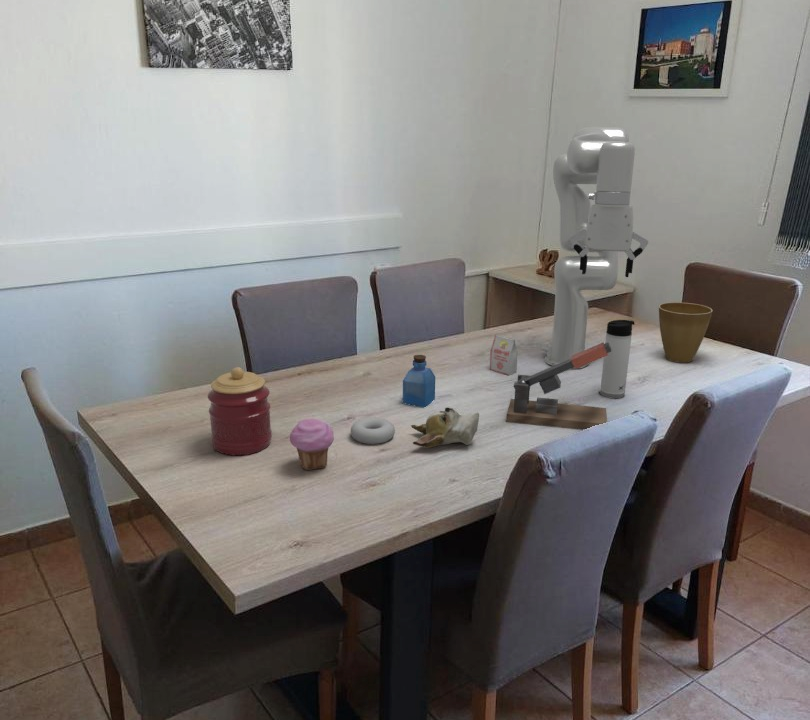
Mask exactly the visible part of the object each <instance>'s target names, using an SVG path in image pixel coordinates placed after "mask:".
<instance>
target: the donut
mask: <svg viewBox="0 0 810 720" xmlns="http://www.w3.org/2000/svg"><path fill="white" fill-rule="evenodd" d="M395 431H396V429H395V425H394V424H393V423H392V422H391V421H390V420H388V419H385V418H383V417H376V416H372V417H364V418H360V419H358V420H356V421H355V422H354V423H353V424H352V425H351V427H350V435H351V437H352V438H353V439H354V440H355V441H356V442H359V443H362V444H366V445H377V444H384V443H385V442H388V441H390V440H391V439H393V437H394V435H395V433H396V432H395Z"/></svg>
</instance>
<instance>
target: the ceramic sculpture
mask: <svg viewBox="0 0 810 720" xmlns="http://www.w3.org/2000/svg"><path fill="white" fill-rule="evenodd" d="M479 417H480V412H474V413H472V412H471V413H468V414H460V413H459V412H458V411H457V410H456V409H454V408H451V407H445V408H444V410H443V411H442V410H440V411H434V412H433V413H432V414H430V415H429V416H428V417H427V419H426V422H425V423H422V424H421V425H416V424H412V425H410V427H411V429H414V430H415V431H417V432H419V433H421V434H424V435H421V436H420V438H418V439H417V440H416V441H415V440H414V441H413V442H412V444H413V445H415V446H419V447H422V448H428V449H429V448H434V447H437V446H442V445H443V446H445V445H450V444H453V443H463V445H465V446H469V445H471V444H472V441H473V439H474V436H475V434H476V433H477V431H478V427H479V422H480V421H479V420H480V418H479Z"/></svg>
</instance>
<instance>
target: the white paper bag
mask: <svg viewBox="0 0 810 720" xmlns="http://www.w3.org/2000/svg"><path fill="white" fill-rule="evenodd" d="M518 352H519V351H518V350H517V346H516V340H515V339H512V338H508V337H504V336H500V335H496V334H495V335H494V338H493V342H492V344H491V347H490V354H489V355H490V357H489V371H492V372H496V373H499V374H502V375H504V376H511V375H514V374H516V373H517V370H518V369H517V367H518V356H519V355H518V354H519V353H518Z"/></svg>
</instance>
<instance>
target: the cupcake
mask: <svg viewBox="0 0 810 720" xmlns="http://www.w3.org/2000/svg"><path fill="white" fill-rule="evenodd" d="M334 434H335V433H334V430H333V428H332V426H331V425H330V424H329V423H328V422H326V421H323V420H321V419H318V418H306V419H303V420H300V421H299V422H297V424H296V425H295V426H294V427H293V429H292V430H291V431H290V434H289V442H290V444H291V445H292V446H293V447H295V448H296V451H297V454H298V458H299V462H300V465H301V467H302V468H303V470H306V471H310V470H316V469H322V468H326V467H327V465H328V451H329V448H330V447H331V446H332V444H333V443H334V441H335V436H334Z"/></svg>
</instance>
